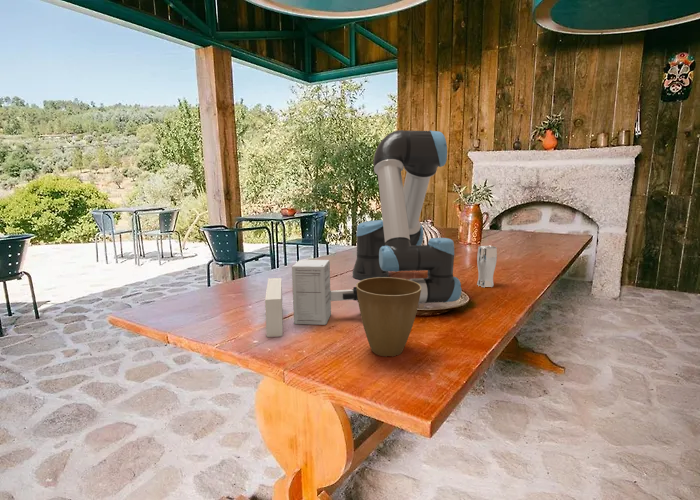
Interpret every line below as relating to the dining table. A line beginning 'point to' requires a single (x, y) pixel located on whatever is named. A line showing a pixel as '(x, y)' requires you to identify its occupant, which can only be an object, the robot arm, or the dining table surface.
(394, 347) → the plant pot
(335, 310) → the dining table surface
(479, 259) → the beer glass
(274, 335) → the white rectangular block
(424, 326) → the dining table surface
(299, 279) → the supplement box
